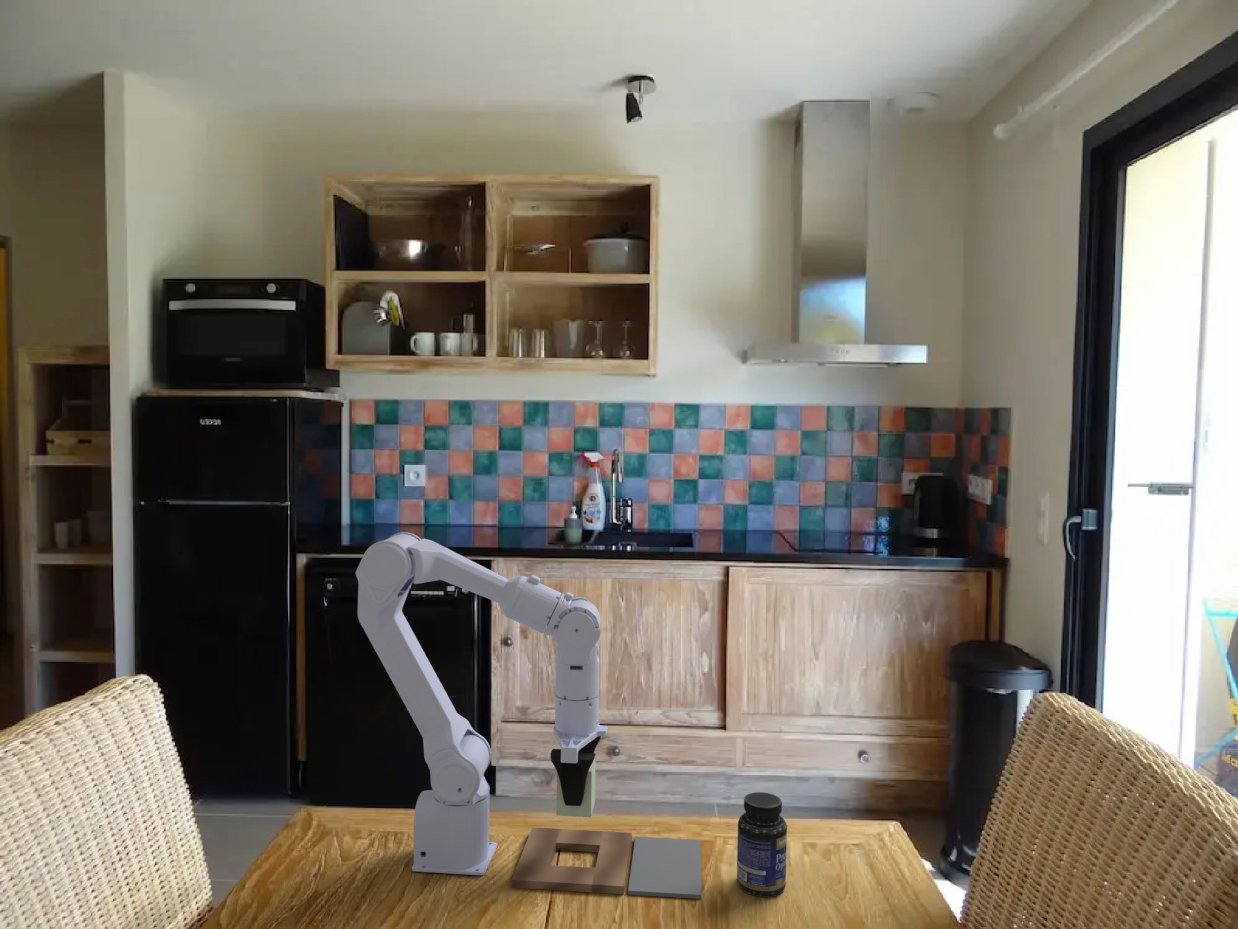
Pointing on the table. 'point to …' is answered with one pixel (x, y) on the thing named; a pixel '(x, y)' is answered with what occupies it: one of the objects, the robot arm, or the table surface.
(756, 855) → the pill bottle
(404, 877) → the table surface
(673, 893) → the mat
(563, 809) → the sage block
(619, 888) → the pocket board
